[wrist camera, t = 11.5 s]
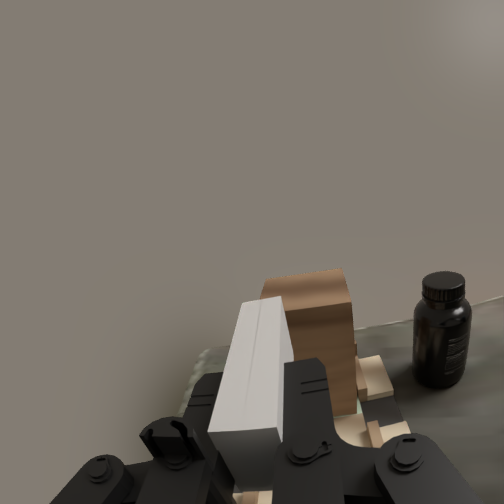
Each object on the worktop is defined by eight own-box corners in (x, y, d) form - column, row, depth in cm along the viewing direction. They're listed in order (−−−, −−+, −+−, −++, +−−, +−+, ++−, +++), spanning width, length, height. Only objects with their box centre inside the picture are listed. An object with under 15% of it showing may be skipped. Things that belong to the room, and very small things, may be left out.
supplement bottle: (461, 353, 33) (469, 265, 29) (466, 388, 27) (481, 291, 24) (411, 355, 36) (412, 268, 33) (409, 391, 30) (414, 295, 27)
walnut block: (357, 413, 28) (351, 301, 25) (279, 421, 30) (254, 314, 26) (350, 367, 36) (341, 268, 32) (285, 375, 37) (266, 279, 34)
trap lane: (436, 524, 14) (448, 503, 13) (205, 550, 16) (188, 534, 15) (379, 361, 37) (378, 335, 36) (240, 382, 39) (233, 358, 38)
